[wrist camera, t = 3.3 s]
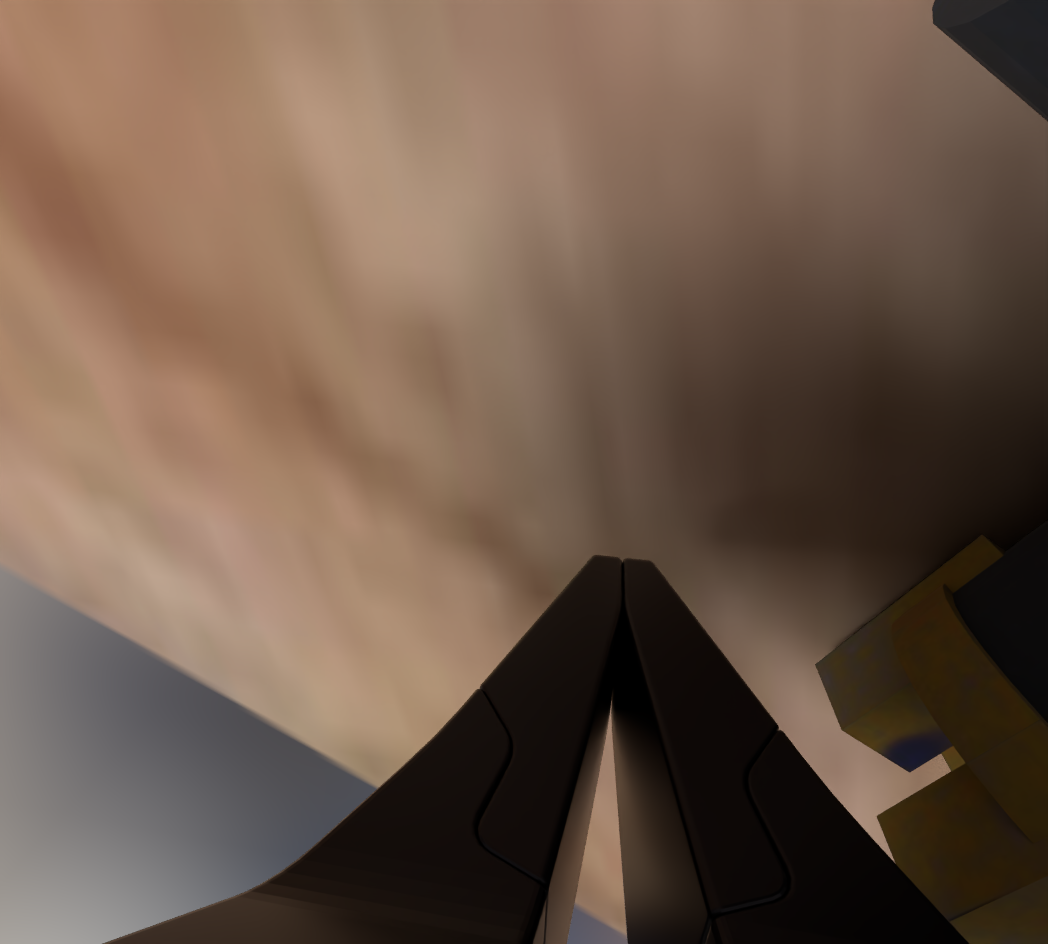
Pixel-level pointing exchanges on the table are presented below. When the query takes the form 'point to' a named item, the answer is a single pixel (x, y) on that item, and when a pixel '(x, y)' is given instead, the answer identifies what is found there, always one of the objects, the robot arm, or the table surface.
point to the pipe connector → (968, 652)
